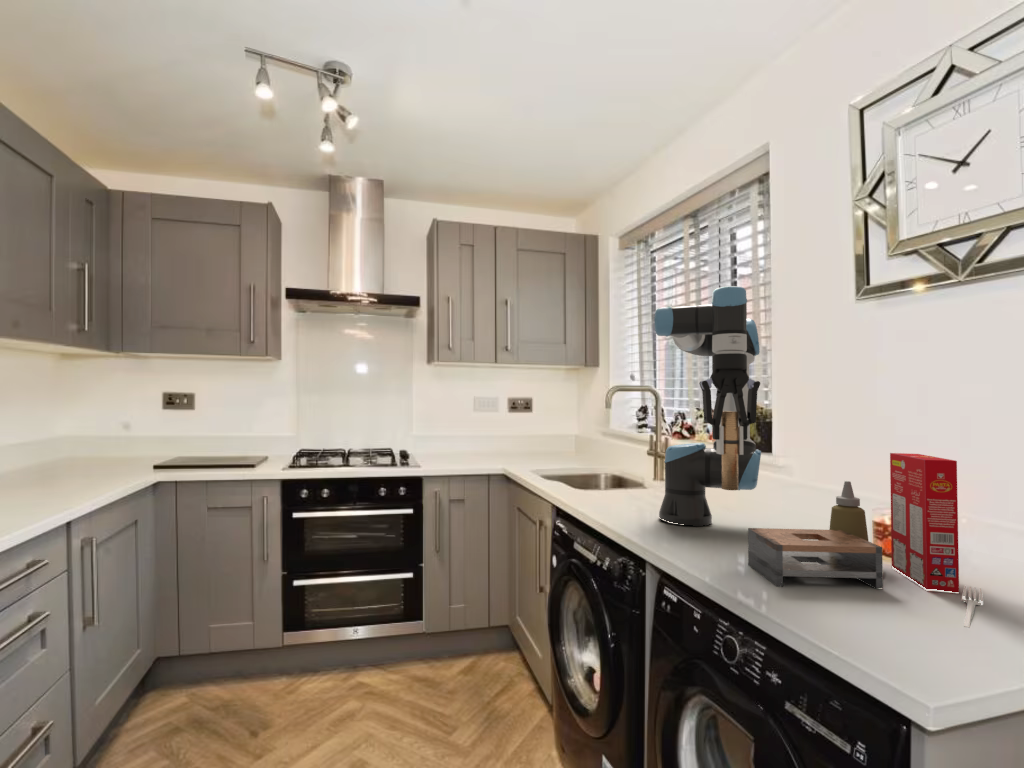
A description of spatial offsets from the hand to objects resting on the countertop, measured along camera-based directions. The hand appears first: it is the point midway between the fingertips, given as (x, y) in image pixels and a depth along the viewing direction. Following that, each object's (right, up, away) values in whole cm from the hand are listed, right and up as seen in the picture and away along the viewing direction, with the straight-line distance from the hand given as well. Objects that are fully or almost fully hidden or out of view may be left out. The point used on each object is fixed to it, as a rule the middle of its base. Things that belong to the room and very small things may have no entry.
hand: (729, 453), depth 125 cm
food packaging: (+33, -24, -16) cm, 44 cm away
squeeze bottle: (+26, -24, -3) cm, 35 cm away
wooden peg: (0, -8, 0) cm, 8 cm away
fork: (+29, -24, -32) cm, 49 cm away
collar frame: (+11, -23, -14) cm, 29 cm away
